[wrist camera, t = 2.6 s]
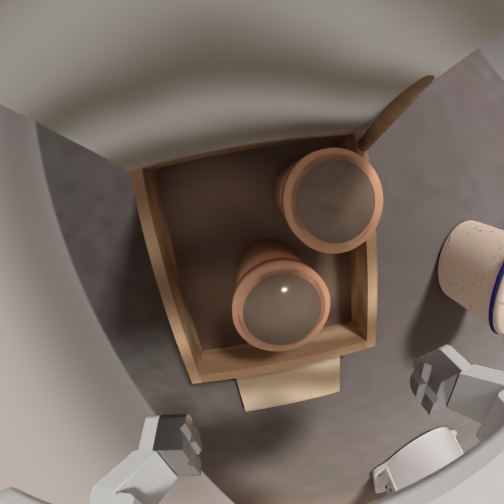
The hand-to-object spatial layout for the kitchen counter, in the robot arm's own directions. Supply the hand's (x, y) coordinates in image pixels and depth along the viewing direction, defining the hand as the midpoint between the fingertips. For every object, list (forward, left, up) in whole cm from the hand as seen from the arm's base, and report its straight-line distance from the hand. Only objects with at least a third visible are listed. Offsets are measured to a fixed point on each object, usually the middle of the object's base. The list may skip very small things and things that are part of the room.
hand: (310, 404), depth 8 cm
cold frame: (+3, 0, -15) cm, 15 cm away
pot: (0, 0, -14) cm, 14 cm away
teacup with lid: (-3, -23, -15) cm, 27 cm away
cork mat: (-12, -1, -15) cm, 19 cm away
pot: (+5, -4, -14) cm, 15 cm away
